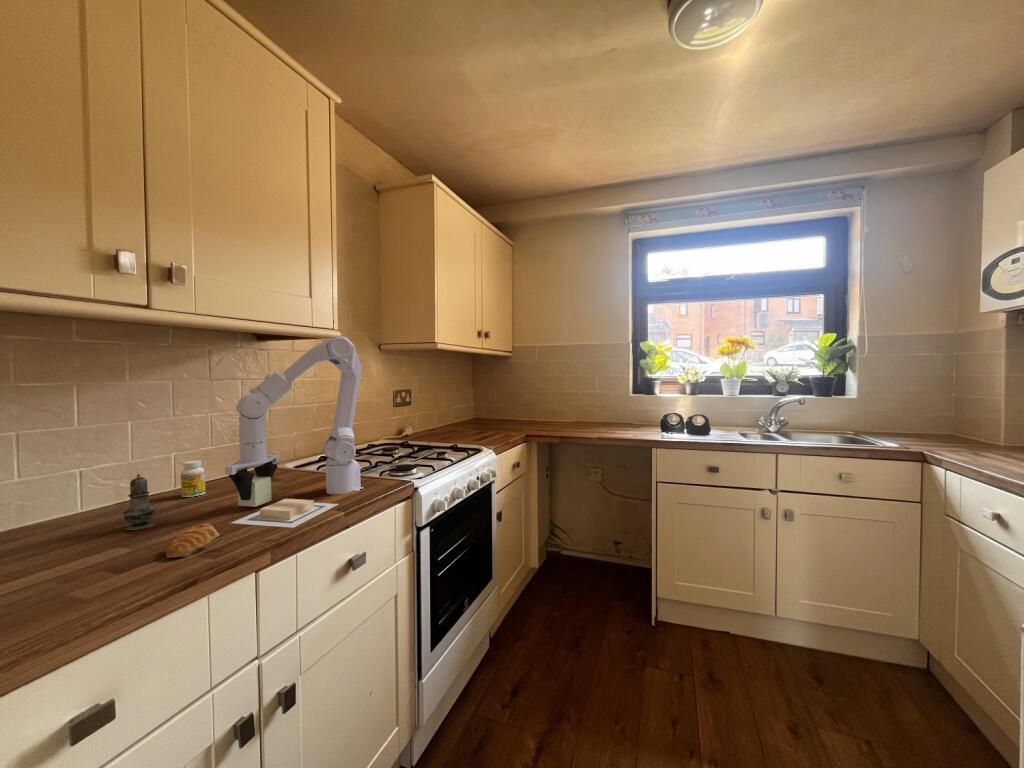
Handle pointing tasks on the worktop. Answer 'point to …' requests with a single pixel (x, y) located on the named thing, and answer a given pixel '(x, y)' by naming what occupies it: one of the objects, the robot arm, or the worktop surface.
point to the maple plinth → (287, 509)
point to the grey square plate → (256, 520)
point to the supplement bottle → (192, 479)
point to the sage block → (258, 492)
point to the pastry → (191, 540)
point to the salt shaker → (139, 505)
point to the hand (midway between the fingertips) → (254, 496)
